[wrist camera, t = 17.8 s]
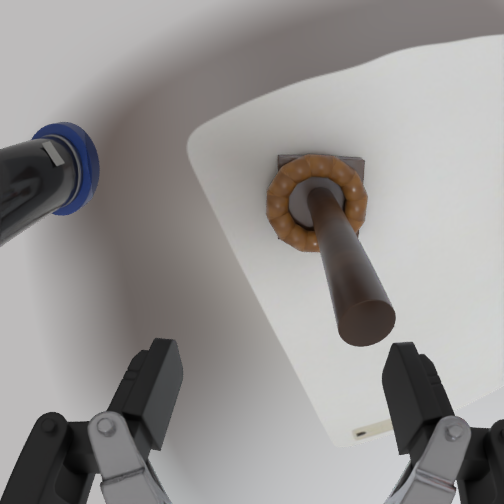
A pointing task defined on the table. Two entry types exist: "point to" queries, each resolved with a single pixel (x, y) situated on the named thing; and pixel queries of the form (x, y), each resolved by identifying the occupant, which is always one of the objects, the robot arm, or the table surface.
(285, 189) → the brown segmented ring
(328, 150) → the table surface
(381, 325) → the peg stand
